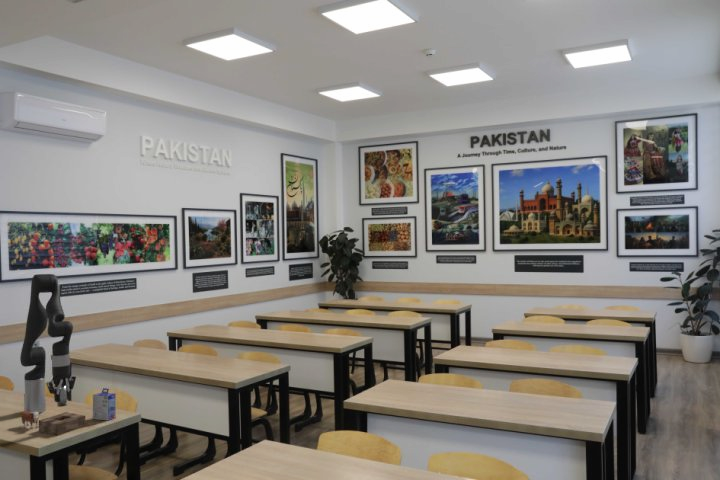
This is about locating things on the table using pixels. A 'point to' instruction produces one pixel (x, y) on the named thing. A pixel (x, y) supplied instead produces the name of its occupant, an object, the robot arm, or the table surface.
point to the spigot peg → (62, 396)
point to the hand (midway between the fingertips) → (61, 400)
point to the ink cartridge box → (104, 405)
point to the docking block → (62, 423)
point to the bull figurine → (30, 418)
